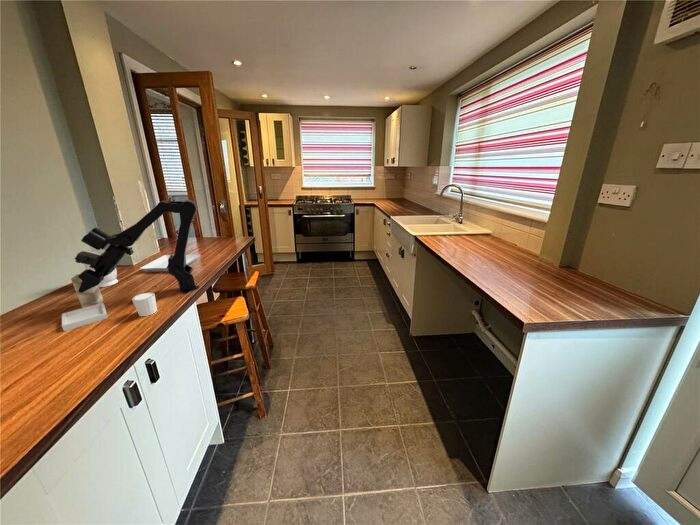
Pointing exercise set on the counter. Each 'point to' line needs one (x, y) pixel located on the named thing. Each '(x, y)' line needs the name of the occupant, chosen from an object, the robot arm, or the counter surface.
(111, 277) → the jar
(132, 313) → the counter surface
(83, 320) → the tray
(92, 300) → the beech block
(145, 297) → the shot glass
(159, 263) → the salad plate
